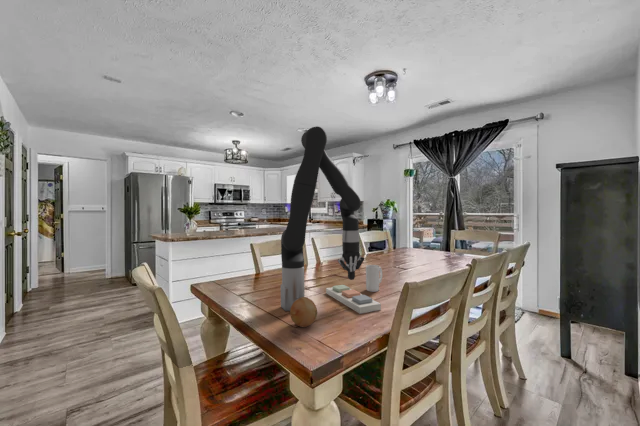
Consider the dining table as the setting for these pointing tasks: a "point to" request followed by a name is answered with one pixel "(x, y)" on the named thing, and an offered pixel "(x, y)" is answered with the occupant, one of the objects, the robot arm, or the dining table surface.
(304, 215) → the robot arm
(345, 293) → the terracotta button
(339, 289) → the green button
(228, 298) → the dining table surface
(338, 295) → the button panel
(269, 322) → the dining table surface
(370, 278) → the mug
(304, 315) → the onion
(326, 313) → the dining table surface
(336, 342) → the dining table surface
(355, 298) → the grey button
